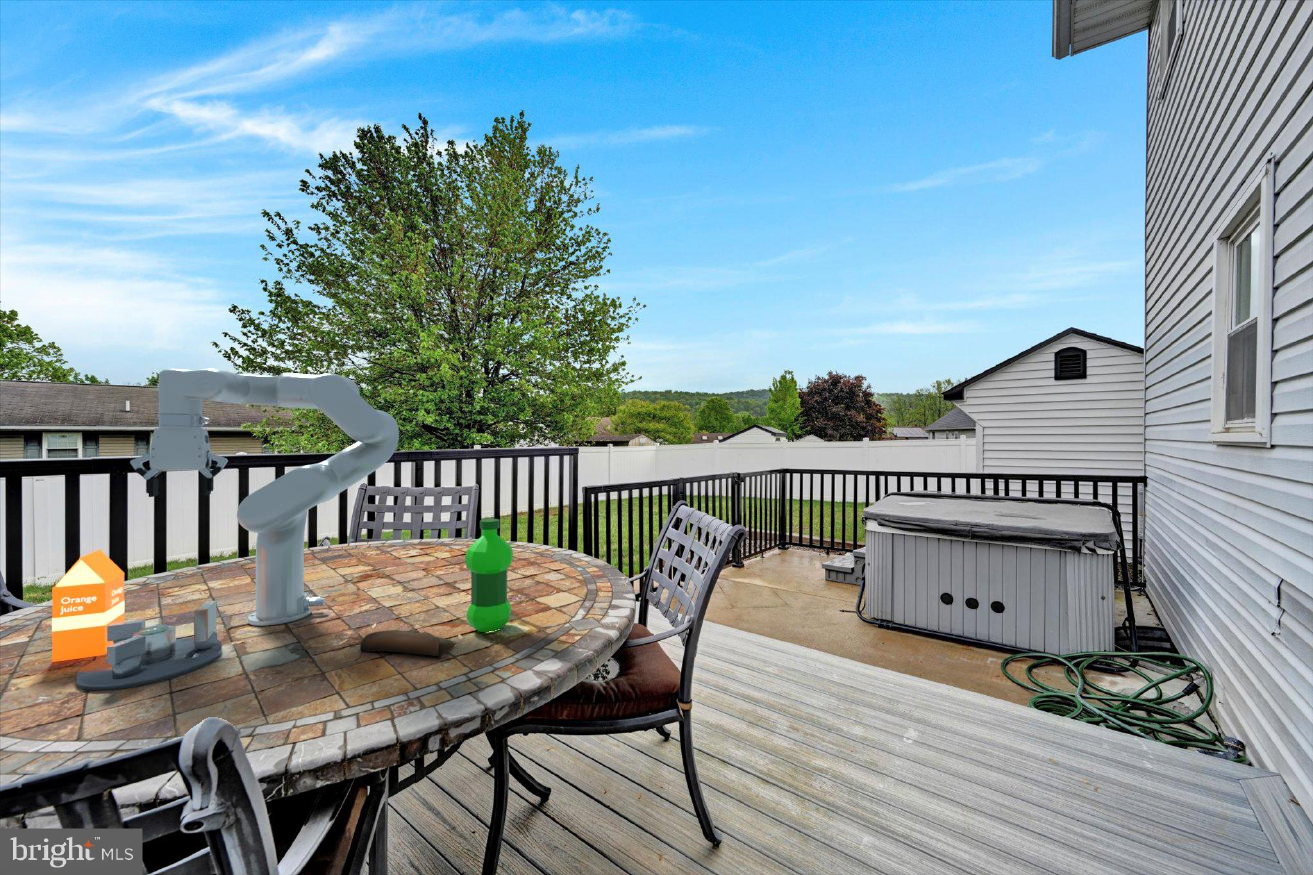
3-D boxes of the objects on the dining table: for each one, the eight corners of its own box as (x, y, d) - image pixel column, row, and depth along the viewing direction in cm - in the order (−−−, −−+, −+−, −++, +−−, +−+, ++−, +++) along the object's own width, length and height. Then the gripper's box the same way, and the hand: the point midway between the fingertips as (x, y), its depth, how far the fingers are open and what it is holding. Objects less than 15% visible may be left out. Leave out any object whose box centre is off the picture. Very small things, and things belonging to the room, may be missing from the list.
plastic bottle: (498, 618, 127) (498, 515, 127) (520, 629, 119) (521, 520, 119) (458, 628, 120) (458, 520, 120) (479, 641, 112) (479, 525, 112)
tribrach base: (234, 638, 114) (234, 604, 114) (202, 676, 96) (202, 635, 95) (110, 654, 105) (110, 617, 105) (49, 700, 87) (49, 655, 87)
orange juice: (51, 662, 101) (51, 560, 101) (75, 646, 109) (75, 551, 109) (106, 654, 105) (106, 555, 105) (125, 639, 113) (125, 547, 113)
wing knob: (199, 640, 108) (199, 602, 108) (221, 637, 109) (221, 599, 109) (188, 653, 102) (188, 612, 102) (211, 649, 103) (211, 609, 103)
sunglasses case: (462, 642, 111) (453, 621, 108) (446, 671, 106) (436, 650, 102) (387, 636, 115) (376, 616, 111) (367, 665, 109) (355, 644, 105)
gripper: (231, 423, 129) (231, 492, 129) (139, 422, 121) (138, 495, 122) (222, 422, 122) (222, 495, 122) (123, 421, 115) (123, 499, 115)
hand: (180, 495), depth 122 cm, fingers open, 9 cm apart
